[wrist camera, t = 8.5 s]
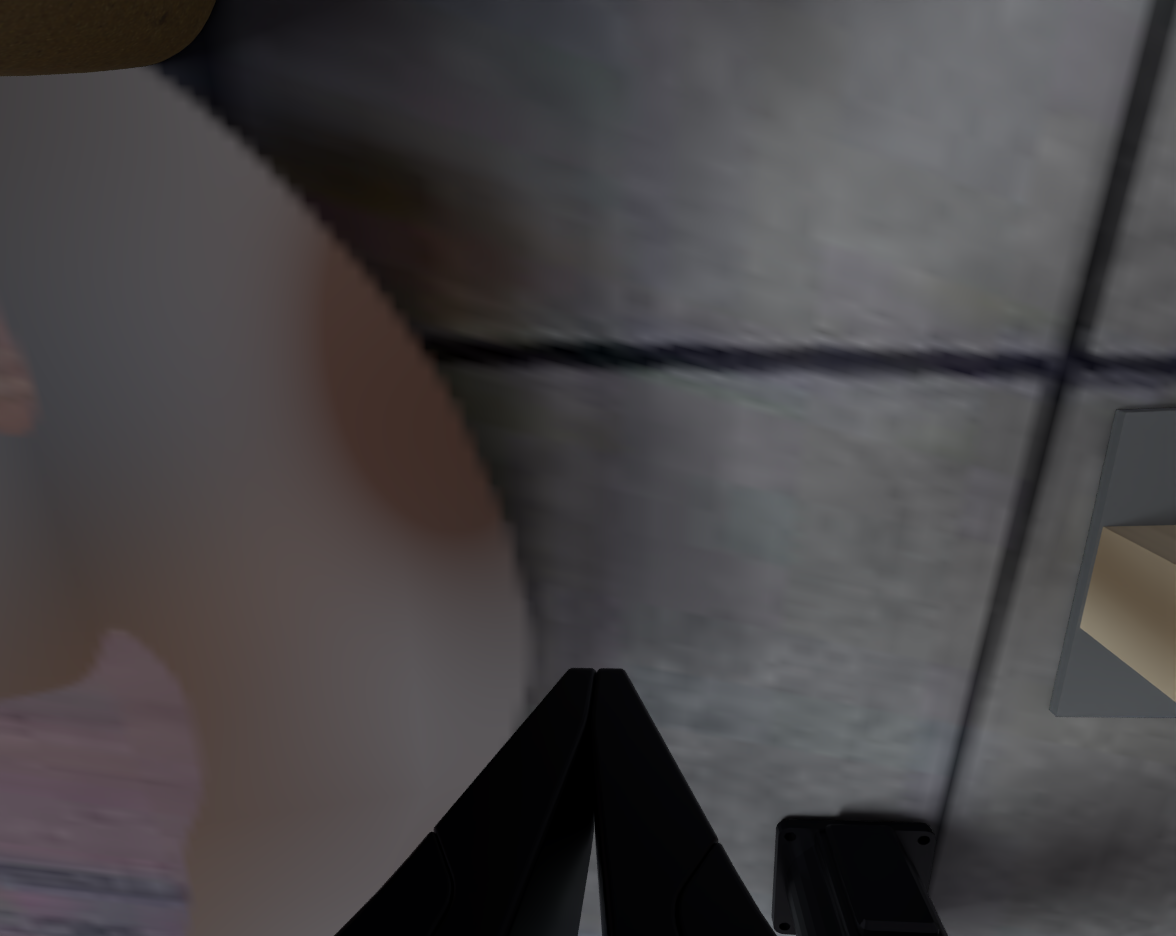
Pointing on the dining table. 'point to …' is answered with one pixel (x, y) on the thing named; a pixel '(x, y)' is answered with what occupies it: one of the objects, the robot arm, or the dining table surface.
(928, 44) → the dining table surface
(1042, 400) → the dining table surface
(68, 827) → the dining table surface
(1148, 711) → the mat
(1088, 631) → the oak block
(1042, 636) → the dining table surface
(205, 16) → the plant pot
